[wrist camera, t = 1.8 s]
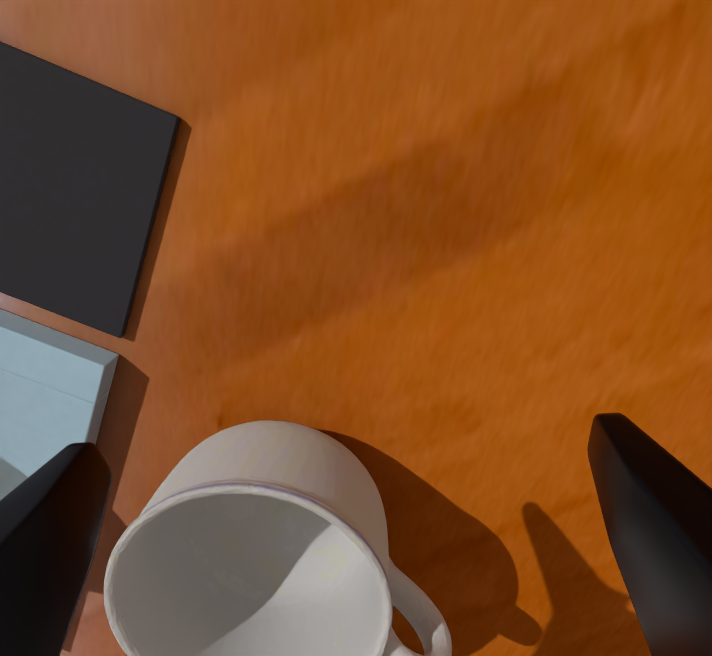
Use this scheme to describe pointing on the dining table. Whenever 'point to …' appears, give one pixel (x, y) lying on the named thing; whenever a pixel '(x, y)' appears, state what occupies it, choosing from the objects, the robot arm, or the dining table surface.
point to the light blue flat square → (46, 395)
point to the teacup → (265, 556)
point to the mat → (76, 189)
